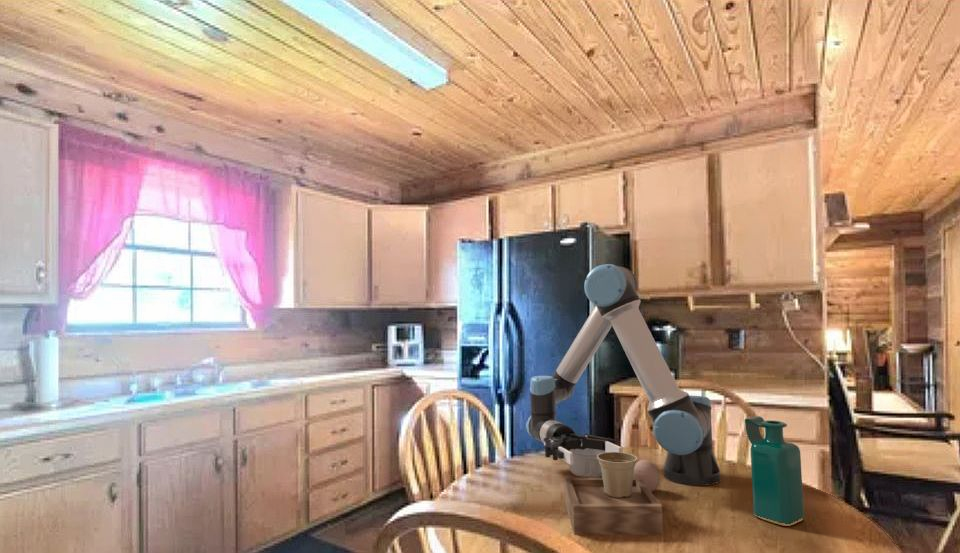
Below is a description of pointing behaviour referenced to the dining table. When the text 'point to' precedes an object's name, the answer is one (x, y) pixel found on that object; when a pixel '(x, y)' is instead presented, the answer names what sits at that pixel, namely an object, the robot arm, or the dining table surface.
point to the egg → (647, 474)
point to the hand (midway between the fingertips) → (596, 456)
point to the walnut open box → (611, 508)
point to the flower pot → (617, 473)
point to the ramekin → (586, 463)
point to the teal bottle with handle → (775, 472)
